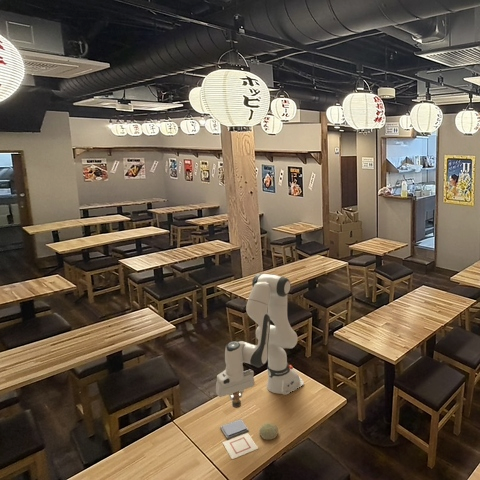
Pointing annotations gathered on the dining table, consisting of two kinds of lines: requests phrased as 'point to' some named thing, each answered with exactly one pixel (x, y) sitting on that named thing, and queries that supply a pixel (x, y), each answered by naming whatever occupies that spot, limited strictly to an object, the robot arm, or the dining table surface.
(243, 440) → the sheet
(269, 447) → the dining table surface
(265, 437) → the sea urchin shell
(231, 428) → the ink pad
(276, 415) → the dining table surface
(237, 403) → the stamp
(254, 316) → the robot arm
